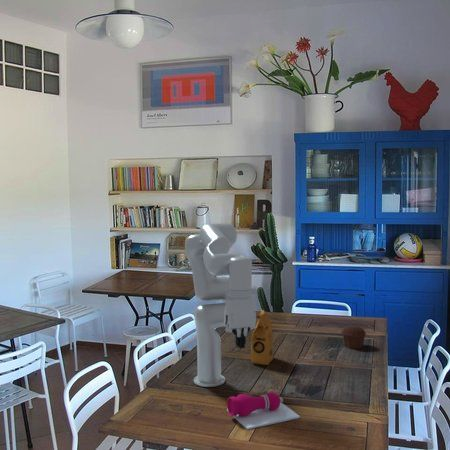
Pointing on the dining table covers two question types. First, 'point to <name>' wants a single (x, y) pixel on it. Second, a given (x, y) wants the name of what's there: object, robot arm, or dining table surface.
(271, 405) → the pepper mill
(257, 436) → the dining table surface
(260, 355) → the coffee package
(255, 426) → the mat
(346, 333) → the muffin
